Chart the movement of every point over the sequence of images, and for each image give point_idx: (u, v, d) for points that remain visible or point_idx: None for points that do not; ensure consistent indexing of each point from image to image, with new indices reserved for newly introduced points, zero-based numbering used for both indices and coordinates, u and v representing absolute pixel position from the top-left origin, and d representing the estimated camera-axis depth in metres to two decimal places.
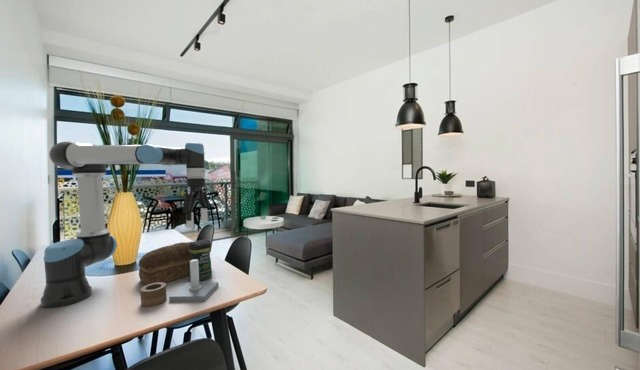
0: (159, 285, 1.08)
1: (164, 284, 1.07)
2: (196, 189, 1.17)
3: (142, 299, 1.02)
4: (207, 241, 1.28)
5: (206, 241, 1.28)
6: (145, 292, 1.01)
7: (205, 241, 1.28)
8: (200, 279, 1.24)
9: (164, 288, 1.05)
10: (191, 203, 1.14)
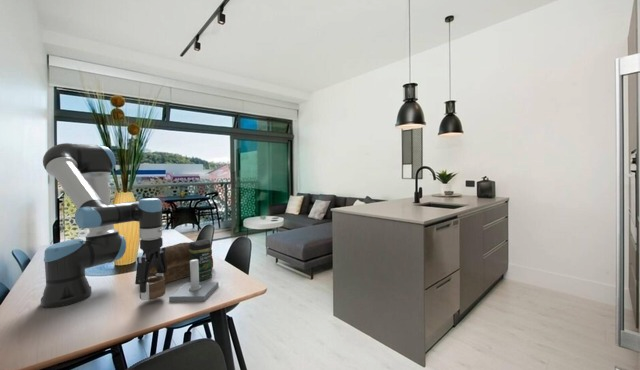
0: (158, 278, 1.08)
1: (163, 278, 1.07)
2: (150, 252, 1.02)
3: None
4: (207, 241, 1.28)
5: (206, 241, 1.28)
6: None
7: (205, 241, 1.28)
8: (200, 279, 1.24)
9: (163, 282, 1.05)
10: (145, 272, 1.00)
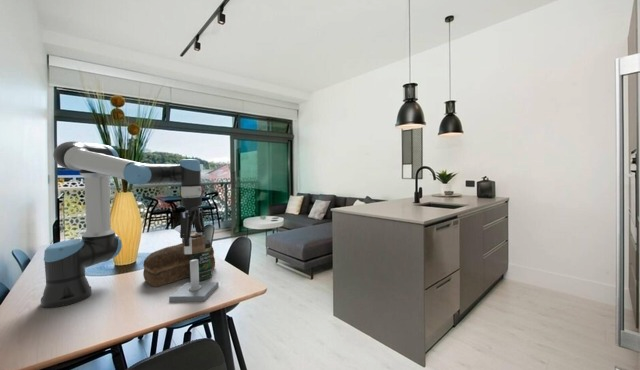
0: (198, 236, 1.14)
1: (203, 235, 1.13)
2: (191, 209, 1.08)
3: None
4: (207, 241, 1.28)
5: (206, 241, 1.28)
6: None
7: (205, 241, 1.28)
8: (200, 279, 1.24)
9: (203, 238, 1.11)
10: (188, 227, 1.06)
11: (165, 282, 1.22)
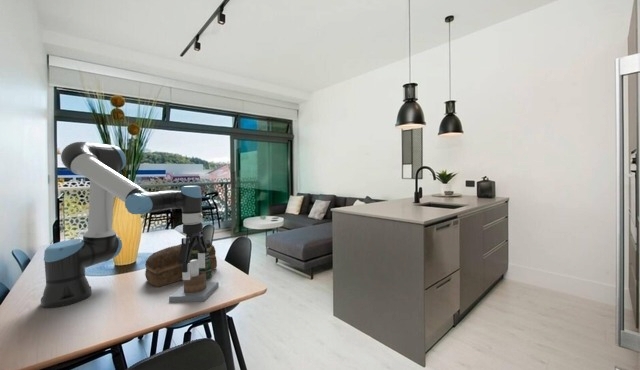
0: (199, 273, 1.14)
1: (204, 272, 1.14)
2: (193, 236, 1.09)
3: (185, 286, 1.08)
4: (207, 241, 1.28)
5: (206, 241, 1.28)
6: None
7: (205, 241, 1.28)
8: None
9: (204, 276, 1.12)
10: None
11: (167, 282, 1.22)
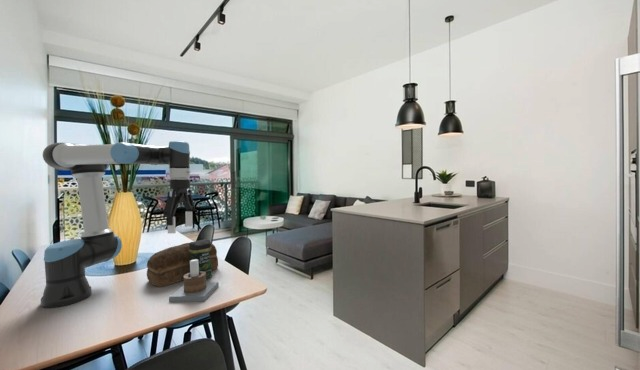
0: (199, 273, 1.14)
1: (204, 272, 1.14)
2: (179, 191, 1.09)
3: (185, 286, 1.08)
4: (207, 241, 1.28)
5: (206, 241, 1.28)
6: (188, 279, 1.08)
7: (205, 241, 1.28)
8: None
9: (204, 276, 1.12)
10: (173, 206, 1.05)
11: (169, 282, 1.22)
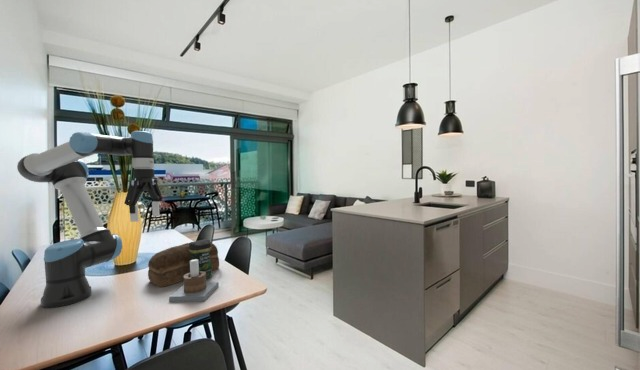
0: (199, 273, 1.14)
1: (204, 272, 1.14)
2: (143, 180, 1.10)
3: (185, 286, 1.08)
4: (207, 241, 1.28)
5: (206, 241, 1.28)
6: (188, 279, 1.08)
7: (205, 241, 1.28)
8: None
9: (204, 276, 1.12)
10: (136, 195, 1.07)
11: (171, 282, 1.21)
